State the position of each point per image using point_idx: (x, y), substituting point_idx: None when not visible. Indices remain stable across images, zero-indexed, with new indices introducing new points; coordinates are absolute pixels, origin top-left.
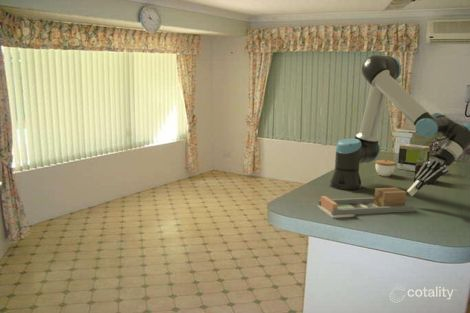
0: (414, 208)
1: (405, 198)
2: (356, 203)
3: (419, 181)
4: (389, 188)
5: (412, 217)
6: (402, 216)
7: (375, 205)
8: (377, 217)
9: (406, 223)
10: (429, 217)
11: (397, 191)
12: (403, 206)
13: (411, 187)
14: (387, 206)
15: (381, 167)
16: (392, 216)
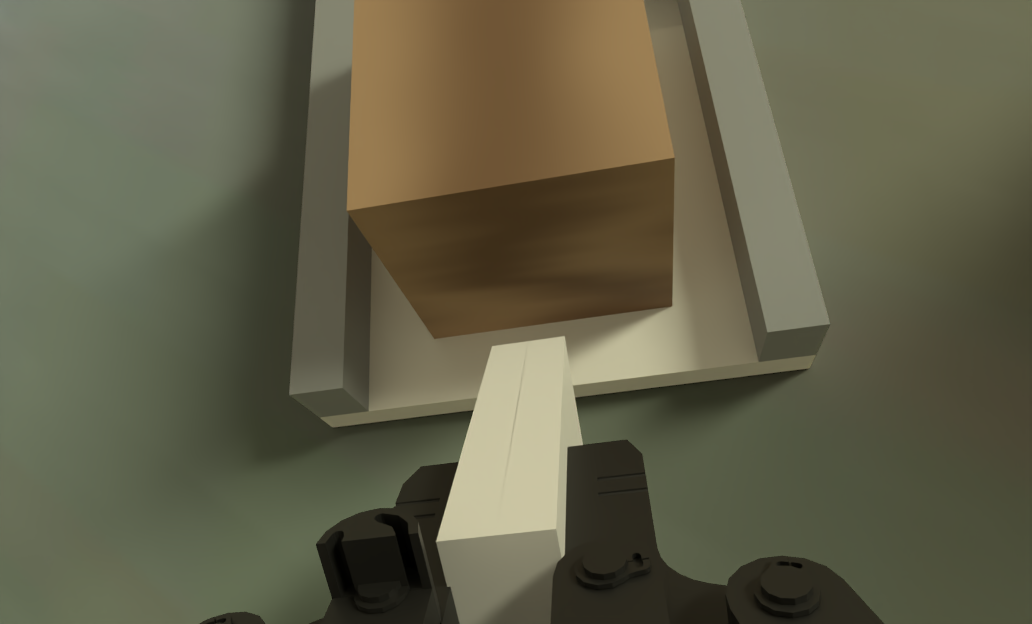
0: (304, 404)
1: (386, 264)
2: None
3: (438, 542)
4: (603, 26)
5: (211, 329)
6: (266, 238)
7: None
8: (298, 13)
9: (91, 190)
10: (151, 545)
11: (406, 84)
12: (310, 233)
13: (524, 390)
14: (349, 61)
15: None
16: (291, 142)
